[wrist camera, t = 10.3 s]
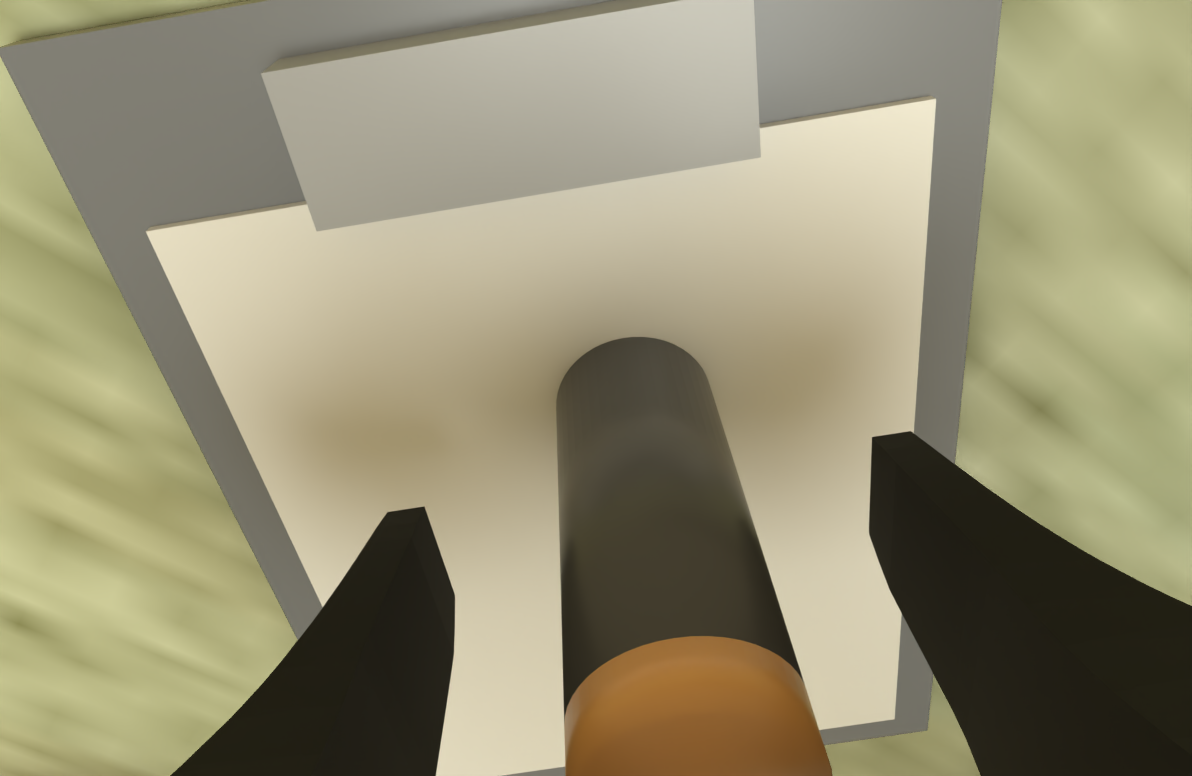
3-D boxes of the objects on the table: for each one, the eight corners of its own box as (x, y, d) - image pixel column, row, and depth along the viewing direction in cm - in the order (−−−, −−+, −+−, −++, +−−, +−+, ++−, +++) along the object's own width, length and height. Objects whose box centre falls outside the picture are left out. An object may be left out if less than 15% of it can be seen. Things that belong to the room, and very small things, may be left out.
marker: (716, 454, 17) (832, 850, 10) (570, 477, 17) (588, 883, 10) (704, 325, 15) (832, 693, 9) (542, 350, 15) (543, 735, 9)
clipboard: (918, 711, 23) (942, 764, 22) (386, 787, 24) (377, 843, 22) (996, -132, 12) (1051, -131, 11) (17, 41, 13) (-44, 61, 12)
